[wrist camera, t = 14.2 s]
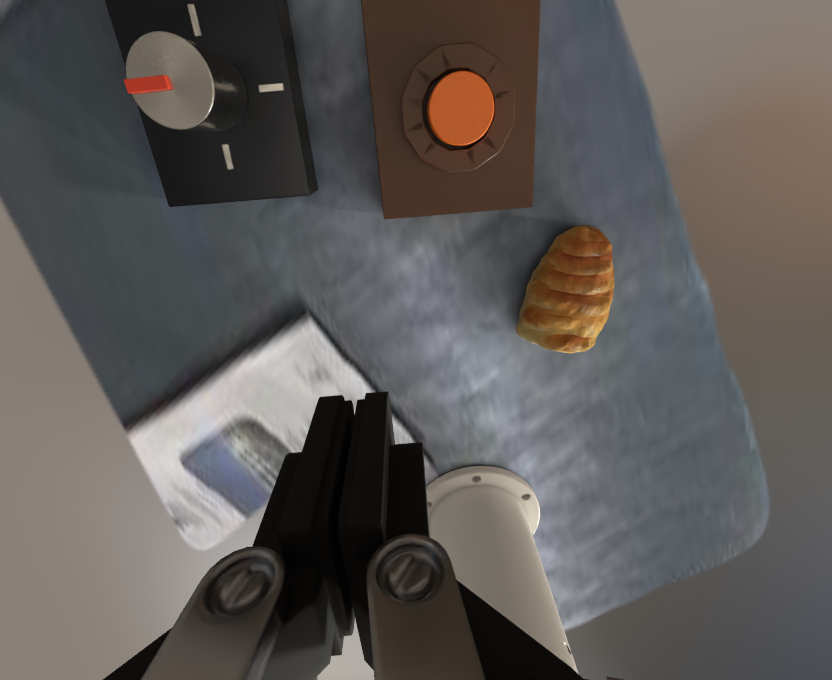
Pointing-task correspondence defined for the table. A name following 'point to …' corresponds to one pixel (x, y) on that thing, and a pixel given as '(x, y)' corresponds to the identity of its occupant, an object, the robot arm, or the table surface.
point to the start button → (460, 108)
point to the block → (416, 79)
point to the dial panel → (266, 111)
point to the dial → (184, 84)
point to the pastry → (569, 292)
